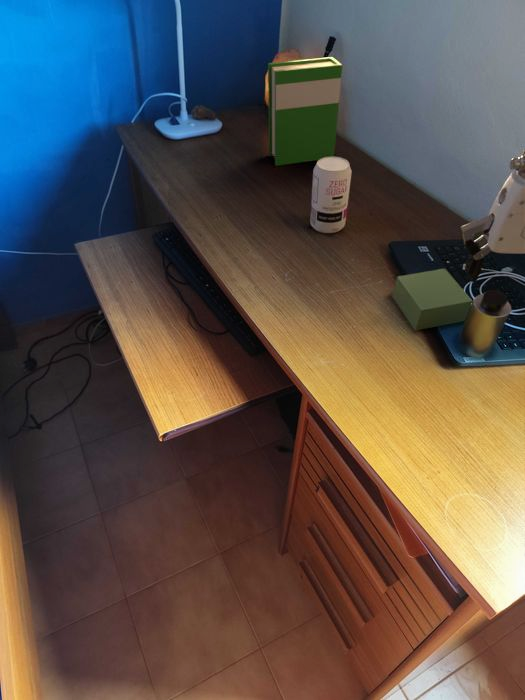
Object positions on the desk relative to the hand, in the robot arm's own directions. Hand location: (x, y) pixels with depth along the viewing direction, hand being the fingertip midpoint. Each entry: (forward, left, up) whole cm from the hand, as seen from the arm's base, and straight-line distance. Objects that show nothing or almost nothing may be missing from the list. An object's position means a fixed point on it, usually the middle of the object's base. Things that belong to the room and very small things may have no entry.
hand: (502, 276), depth 71 cm
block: (+6, -10, -15) cm, 19 cm away
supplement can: (+23, -40, -16) cm, 49 cm away
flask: (0, 0, -15) cm, 15 cm away
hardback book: (+28, -78, -16) cm, 84 cm away
